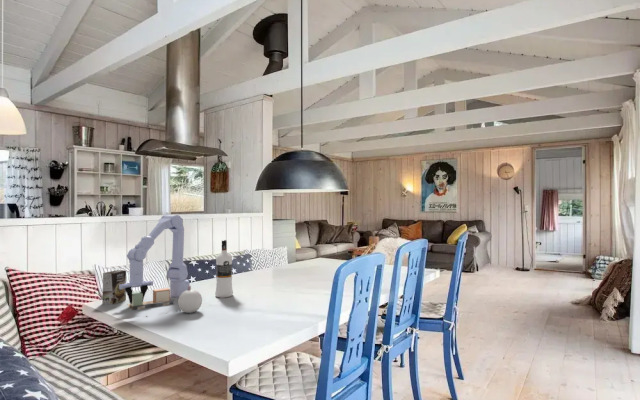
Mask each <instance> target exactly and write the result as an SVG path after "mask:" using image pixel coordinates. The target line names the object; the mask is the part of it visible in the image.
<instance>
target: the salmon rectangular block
mask: <svg viewBox="0 0 640 400" xmlns="http://www.w3.org/2000/svg"><path fill="white" fill-rule="evenodd" d="M152 301H153V302H154V303H159V302H165V301H171V296H170V288H169V287H164V288H157V289H156V288H155V289H152Z"/></svg>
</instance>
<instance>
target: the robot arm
mask: <svg viewBox="0 0 640 400" xmlns="http://www.w3.org/2000/svg"><path fill="white" fill-rule="evenodd" d="M184 227H185V226H184V218H182V216H180V215H178V214H175V215H174V214H163V215H162V216H161V218H159V219H158V223H157V224H156V225H155V227H154V228H153V229H152V230H151V232H150V233H149V234H148V235H146V236H143V237H141V238H140V241H139V242H138V243H137V244H135V246H134V248H133V247H132V248H131V249H129V251H128V252H127V254H126V257H127V260H128V263H129V282H128V283H127V282H126V284H120V285H119V289H125V290H126V296H127V297H128V300H129V301H128V302H129V304H132V292H133V289H132V288H140V292H141V293H143V300H144V298H145V296H146V293H147V291H148V288H149V286H154V281H153V280H147V281H146V280H145V281H144V259H146V257H147V253H148V252H149V250H150V249H151V248H152V246H153V245H154V244H155V239H157V238H158V237H159V236H160V235H161V234H162V233H163V232H164V231H165V230H168V229H169V230H170V231H171V232H172V255H171V263H170V264H168V270H167V273H166V275H167V276H166V277H167V278H168V279H169V281H170V282H169V285H170V286H169V287H170V288H169V289H170V298H173V297H174V298H179V296H180V295H181V293H183V292H184V291H186V290H188V286H191V285H190V281H189V279H187V278H188V276H189V273H188V266H187V264H186V263H185V262H184V247H185V246H184V243H185V228H184Z"/></svg>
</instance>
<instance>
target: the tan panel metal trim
mask: <svg viewBox="0 0 640 400" xmlns="http://www.w3.org/2000/svg"><path fill="white" fill-rule="evenodd" d="M170 305H174V300H170V301H165V302H159V303H154V302H153V300H150V301H143V305H138V306H133V307H132V306H131V305H130V303H128V304H127V306H128V307H129V308H130V309H131V310H132V311H137V310H139V311H140V310H144V309H151V308H158V307H163V306H170Z"/></svg>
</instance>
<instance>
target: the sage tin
mask: <svg viewBox="0 0 640 400" xmlns="http://www.w3.org/2000/svg"><path fill="white" fill-rule="evenodd" d="M143 302H144V299H143V293H141V290H137V291H132V304H130V303H129V304H130V305H131V306H132V307H133V306H138V305H143Z"/></svg>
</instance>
